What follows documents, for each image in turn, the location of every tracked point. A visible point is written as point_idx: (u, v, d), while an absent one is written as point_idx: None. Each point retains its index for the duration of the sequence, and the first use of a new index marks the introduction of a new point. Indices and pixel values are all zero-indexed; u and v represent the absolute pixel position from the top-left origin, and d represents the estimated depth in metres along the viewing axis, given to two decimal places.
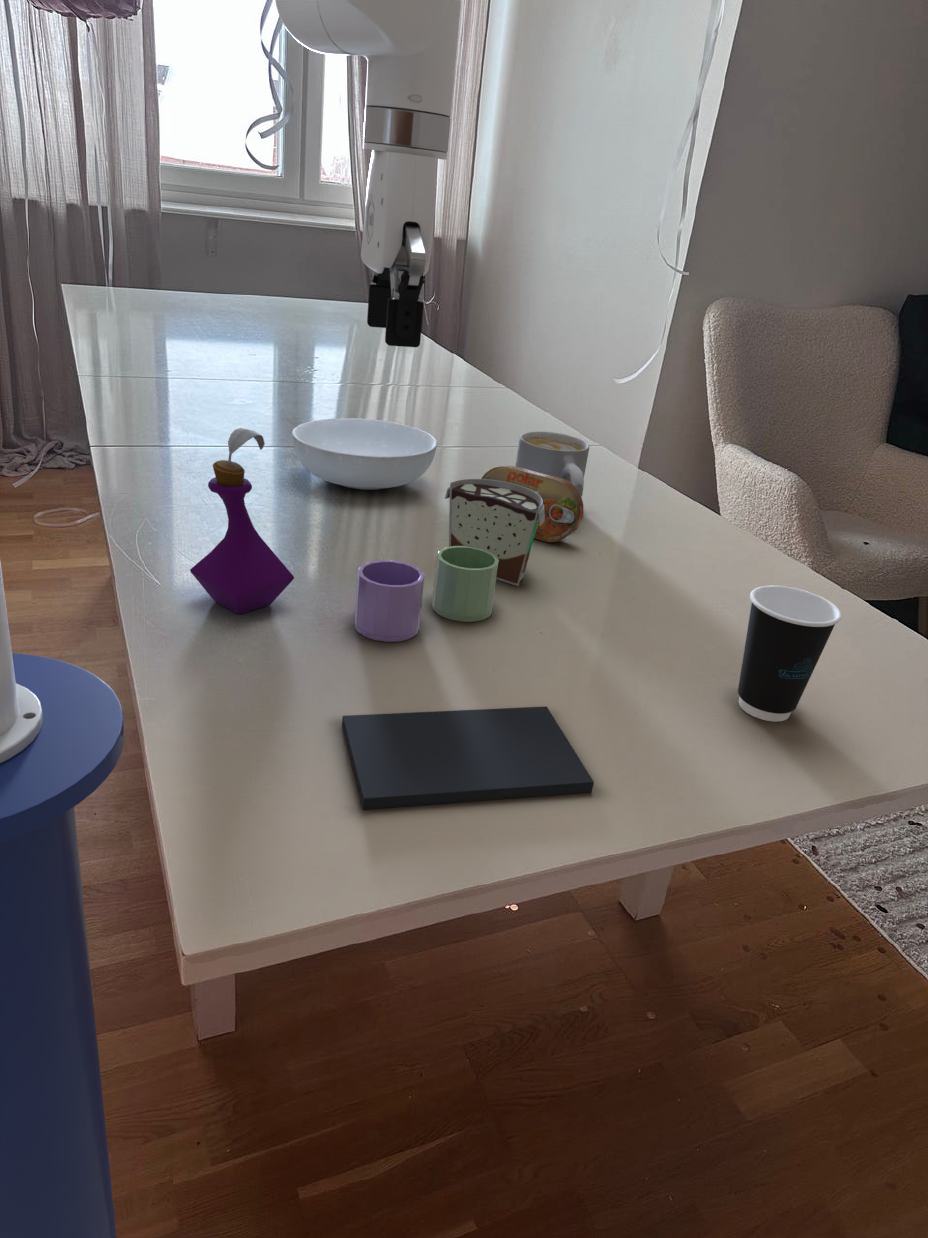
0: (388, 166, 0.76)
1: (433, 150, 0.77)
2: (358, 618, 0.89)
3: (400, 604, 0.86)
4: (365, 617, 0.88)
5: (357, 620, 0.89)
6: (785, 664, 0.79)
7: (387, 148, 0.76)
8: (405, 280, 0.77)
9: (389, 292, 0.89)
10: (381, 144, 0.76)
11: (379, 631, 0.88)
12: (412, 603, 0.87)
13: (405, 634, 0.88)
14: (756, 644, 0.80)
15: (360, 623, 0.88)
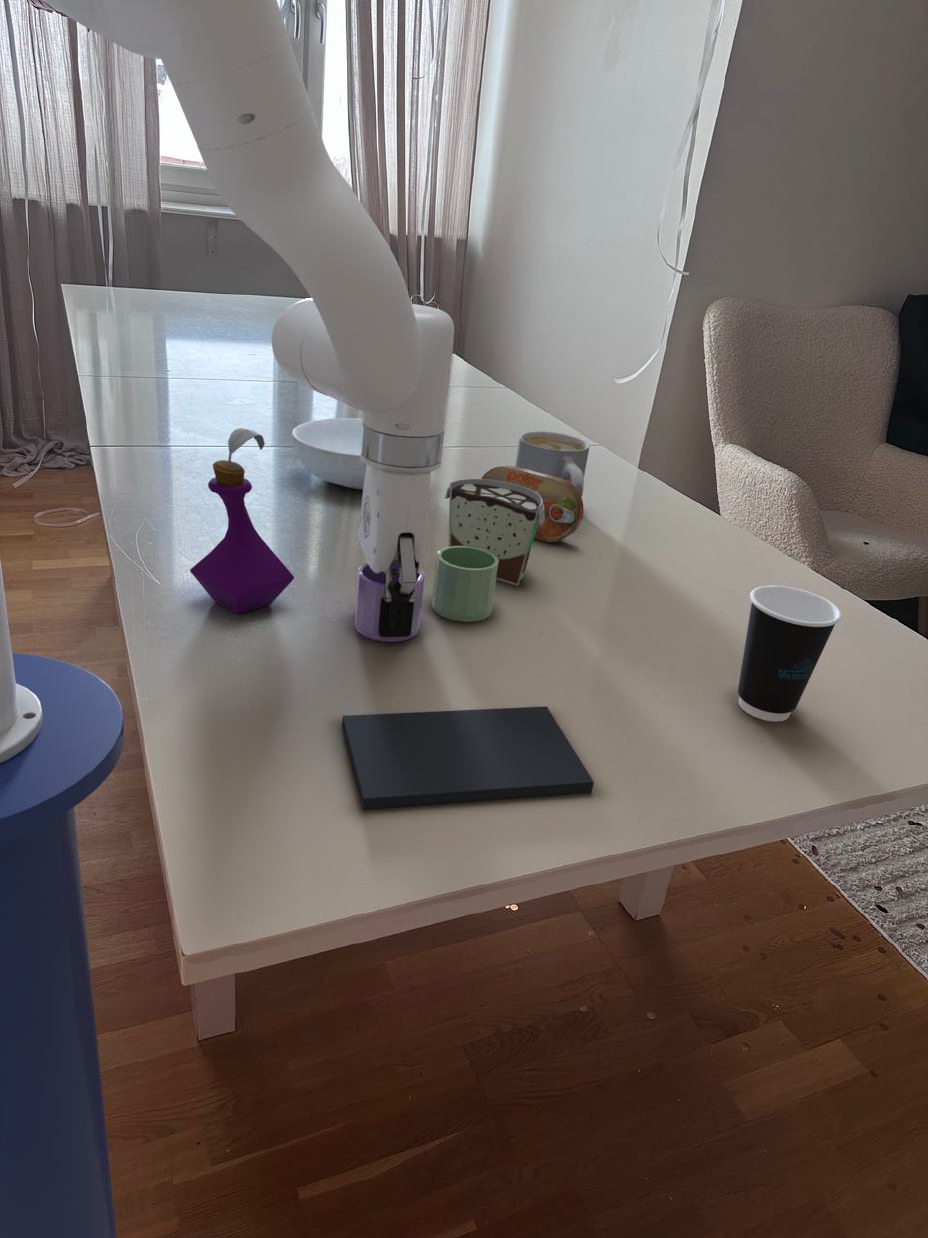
0: (384, 486, 0.80)
1: (427, 466, 0.81)
2: (358, 618, 0.89)
3: None
4: (365, 617, 0.88)
5: (357, 620, 0.89)
6: (785, 664, 0.79)
7: (383, 467, 0.80)
8: (396, 592, 0.82)
9: None
10: (377, 463, 0.80)
11: None
12: None
13: None
14: (756, 644, 0.80)
15: (360, 623, 0.88)
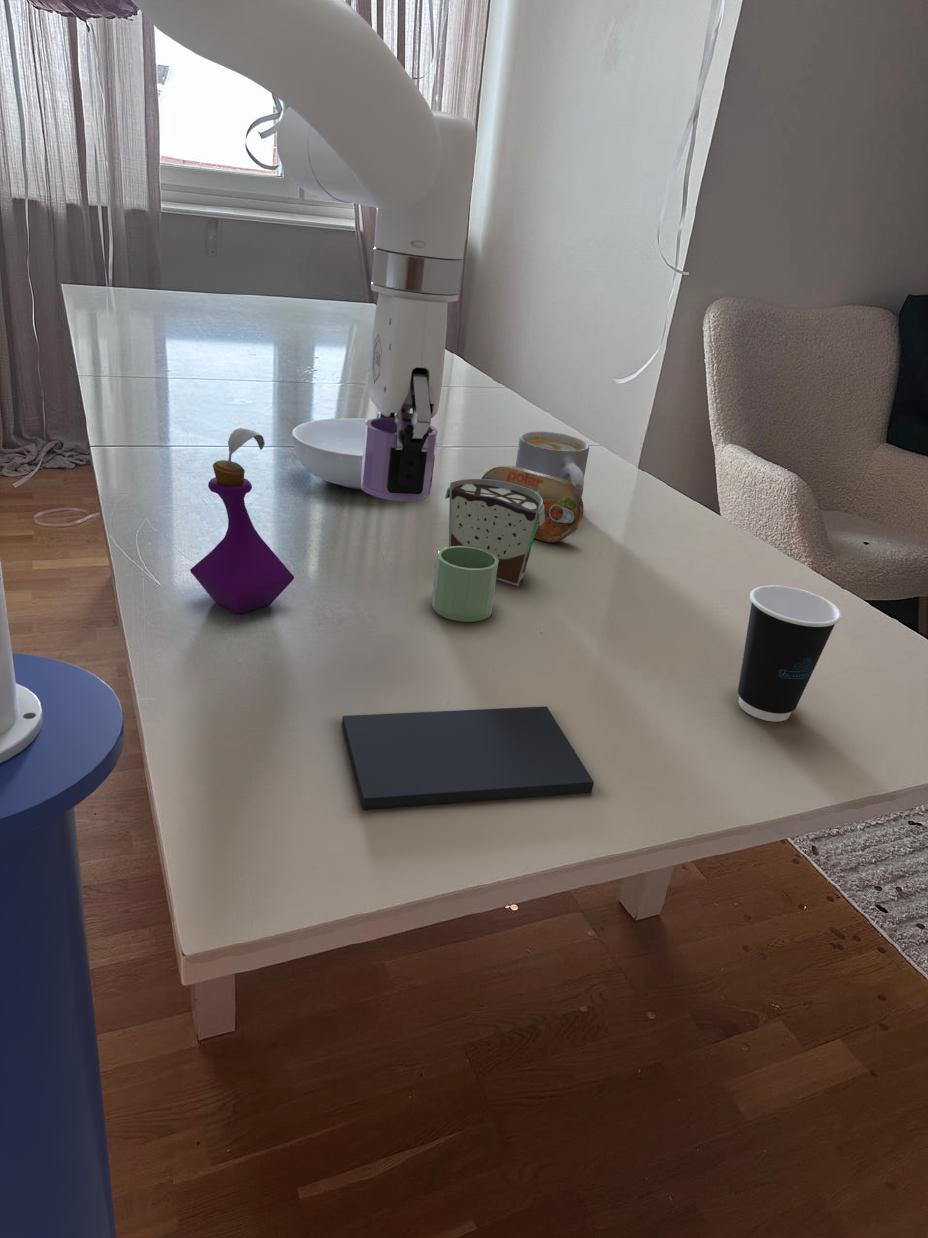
0: (397, 313, 0.73)
1: (444, 295, 0.74)
2: (365, 475, 0.82)
3: None
4: (373, 473, 0.81)
5: (364, 478, 0.82)
6: (785, 664, 0.79)
7: (396, 293, 0.73)
8: (409, 434, 0.75)
9: None
10: (390, 289, 0.73)
11: None
12: None
13: None
14: (756, 644, 0.80)
15: (367, 481, 0.81)
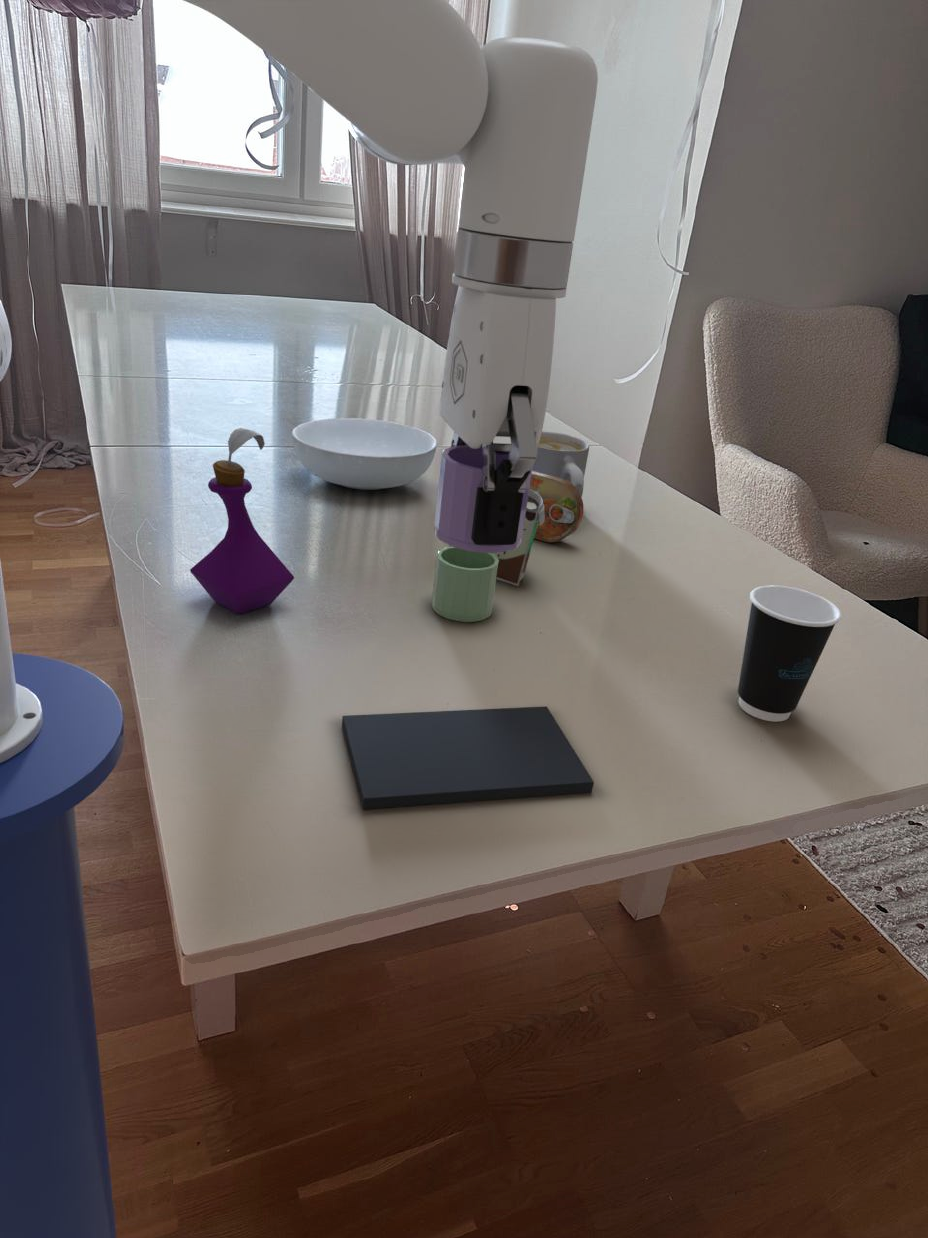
0: (493, 314, 0.55)
1: (552, 289, 0.56)
2: (442, 521, 0.64)
3: None
4: (453, 518, 0.63)
5: (440, 524, 0.64)
6: (785, 664, 0.79)
7: (490, 288, 0.55)
8: (505, 473, 0.58)
9: None
10: (482, 282, 0.55)
11: None
12: None
13: None
14: (756, 644, 0.80)
15: (445, 527, 0.64)
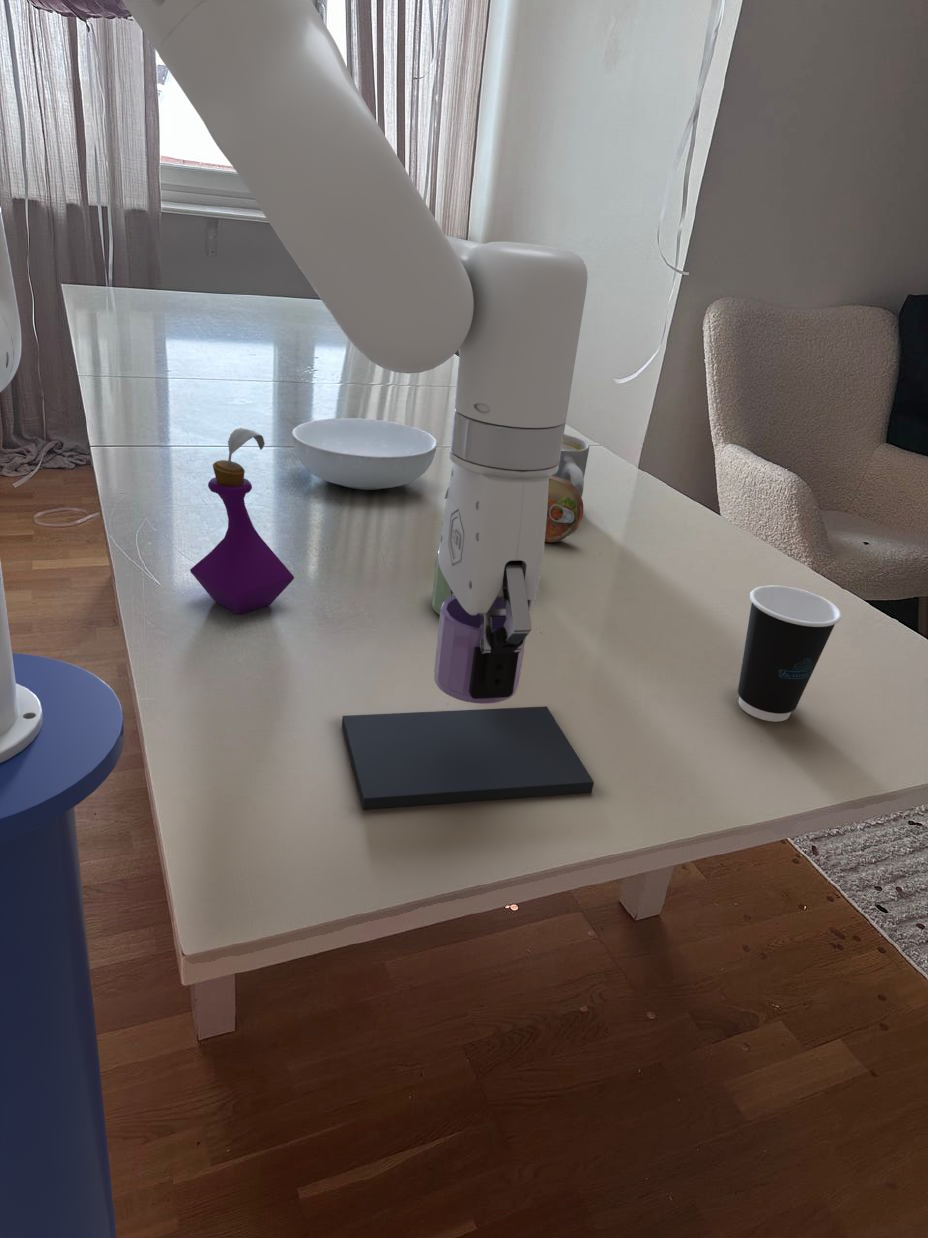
0: (488, 497, 0.57)
1: (545, 469, 0.58)
2: (441, 672, 0.66)
3: None
4: (452, 671, 0.65)
5: (439, 674, 0.67)
6: (785, 664, 0.79)
7: (485, 470, 0.58)
8: (501, 641, 0.60)
9: None
10: (477, 465, 0.58)
11: None
12: None
13: None
14: (756, 644, 0.80)
15: (444, 678, 0.66)
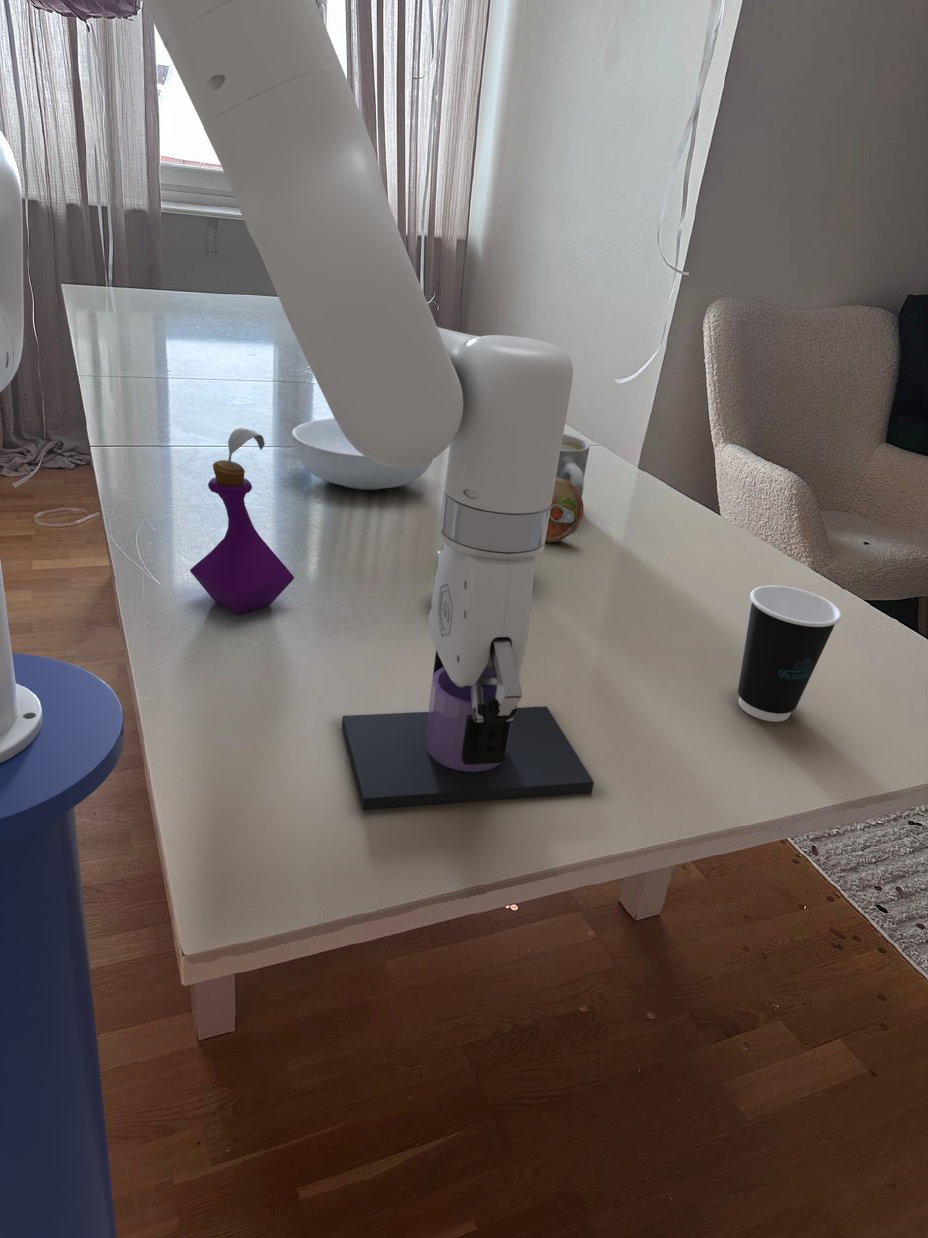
0: (475, 578, 0.60)
1: (530, 551, 0.61)
2: (432, 740, 0.69)
3: None
4: (442, 741, 0.68)
5: (431, 743, 0.69)
6: (785, 664, 0.79)
7: (473, 552, 0.60)
8: (493, 713, 0.61)
9: None
10: (466, 547, 0.60)
11: (461, 759, 0.68)
12: None
13: None
14: (756, 644, 0.80)
15: (435, 747, 0.69)
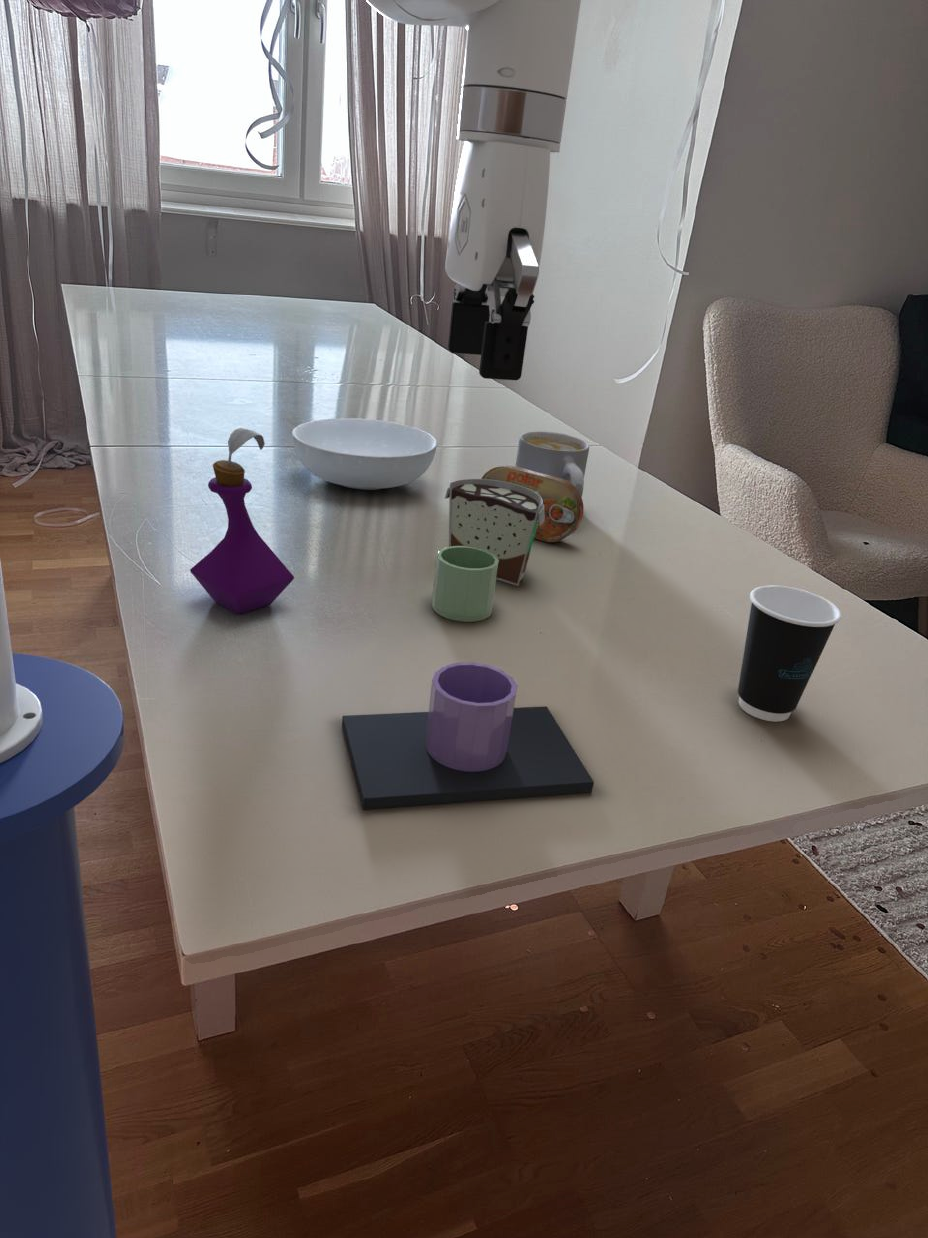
0: (493, 160, 0.61)
1: (547, 140, 0.63)
2: (432, 740, 0.69)
3: (489, 726, 0.67)
4: (442, 741, 0.68)
5: (431, 743, 0.69)
6: (785, 664, 0.79)
7: (491, 137, 0.62)
8: (511, 300, 0.63)
9: (476, 312, 0.74)
10: (484, 132, 0.62)
11: (461, 759, 0.68)
12: (503, 724, 0.68)
13: (493, 761, 0.69)
14: (756, 644, 0.80)
15: (435, 747, 0.69)
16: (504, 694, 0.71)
